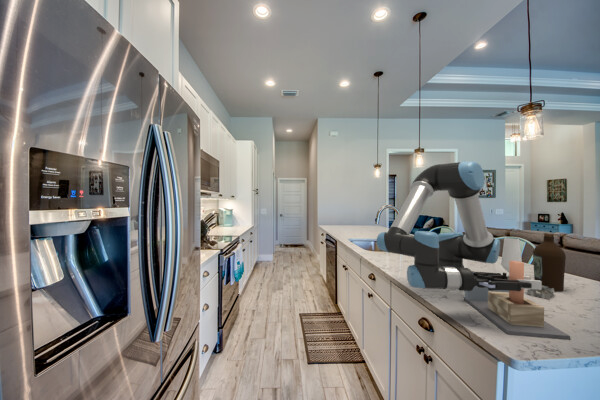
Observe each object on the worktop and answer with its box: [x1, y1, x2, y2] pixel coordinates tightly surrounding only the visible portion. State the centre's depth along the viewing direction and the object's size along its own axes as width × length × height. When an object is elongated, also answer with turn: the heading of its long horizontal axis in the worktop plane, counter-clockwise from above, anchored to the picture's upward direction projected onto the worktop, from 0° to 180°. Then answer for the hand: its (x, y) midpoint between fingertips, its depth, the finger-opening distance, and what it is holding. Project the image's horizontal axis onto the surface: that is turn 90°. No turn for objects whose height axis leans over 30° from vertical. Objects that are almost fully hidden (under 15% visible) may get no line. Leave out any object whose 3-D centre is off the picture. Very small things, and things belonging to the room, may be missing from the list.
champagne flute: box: [500, 237, 523, 273], centre depth 102 cm, size 7×7×24 cm
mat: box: [463, 297, 571, 340], centre depth 84 cm, size 26×16×1 cm, turn 171°
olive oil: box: [532, 232, 567, 292], centre depth 113 cm, size 11×11×25 cm
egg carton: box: [526, 285, 555, 300], centre depth 104 cm, size 11×8×4 cm
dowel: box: [508, 261, 525, 304], centre depth 80 cm, size 4×4×16 cm
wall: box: [463, 286, 509, 301], centre depth 95 cm, size 2×16×8 cm, turn 81°
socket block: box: [488, 291, 545, 327], centre depth 81 cm, size 12×9×6 cm
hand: (535, 282), depth 79 cm, fingers closed on dowel, 3 cm apart
